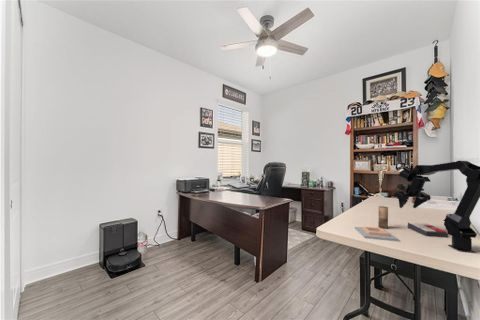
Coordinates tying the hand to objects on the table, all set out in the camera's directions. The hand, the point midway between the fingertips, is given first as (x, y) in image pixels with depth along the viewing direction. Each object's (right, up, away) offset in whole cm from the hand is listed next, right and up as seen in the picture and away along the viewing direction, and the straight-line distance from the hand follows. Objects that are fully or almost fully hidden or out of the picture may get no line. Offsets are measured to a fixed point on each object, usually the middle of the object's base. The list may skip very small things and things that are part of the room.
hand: (407, 207), depth 120 cm
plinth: (-26, -13, -9) cm, 31 cm away
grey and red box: (+8, -14, -4) cm, 17 cm away
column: (-13, -13, +3) cm, 18 cm away
